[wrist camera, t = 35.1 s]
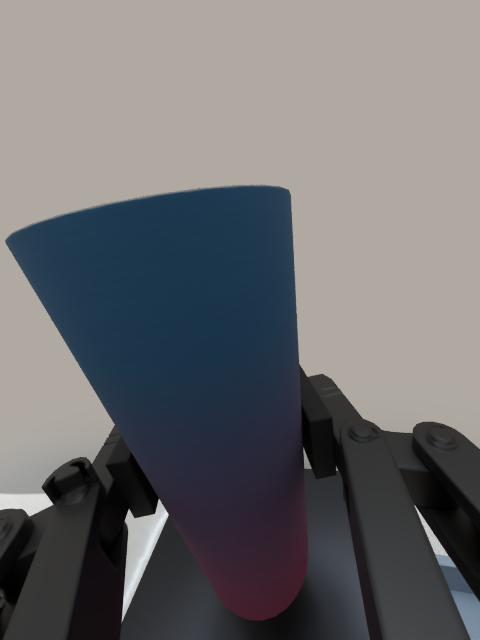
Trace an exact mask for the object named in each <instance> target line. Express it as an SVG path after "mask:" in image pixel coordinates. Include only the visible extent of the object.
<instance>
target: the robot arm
mask: <svg viewBox="0 0 480 640" xmlns="http://www.w3.org/2000/svg"><path fill="white" fill-rule="evenodd" d="M299 373H300V394H301V414H302V434H303V447H304V450H305V452H306V455H307V457H308V460H309V462H310V465H311V467H312V470H313V473H314V475H315V478H316V479H321V478H326V477H330V476H335V475H336V466H337V468H338V470H339V472H340V474H341V476H342V485H343V501H345V503H346V508H347V514H348V520H349V525H350V531H351V536H352V542H353V548H354V553H355V559H356V565H357V570H358V576H359V582H360V587H361V593H362V598H363V604H364V610H365V615H366V621H367V627H368V632H369V638H370V640H471V639H470V636H469V634H468V632H467V629H466V627H465V624H464V622H463V620H462V617H461V615H460V613H459V610H458V608H457V605H456V603H455V601H454V598H453V596H452V594H451V591H450V589H449V587H448V584H447V582H446V579H445V577H444V575H443V572H442V570H441V568H440V565H439V563H438V560H437V558H436V556H435V553H434V551H433V549H432V546H431V544H430V541H429V539H428V537H427V534H426V532H425V530H424V527H423V525H422V523H421V520H420V518H419V515H418V513H417V511H416V508H415V506H416V507H417V509H418V510H419V512H420V513H421V515H422V516H423V518H424V519H425V521H426V522H427V524H428V525H429V527H430V528H431V530H432V531H433V533H434V534H435V536H436V537H437V539H438V540H439V542H440V543H441V545H442V546H443V548H444V549H445V551H446V552H447V554H448V555H449V557H450V558H451V560H452V561H453V563H454V564H455V566H456V567H457V569H458V570H459V572H460V573H461V575H462V576H463V578H464V579H465V581H466V582H467V584H468V585H469V587H470V588H471V590H472V591H473V593H474V594H475V596H476V597H477V599H478V600H479V602H480V449H479V448H478V447H477V446H475V445H474V444H473V443H472V442H471V441H469V440H468V439H467V438H466V437H465V436H464V435H462V434H461V433H460V432H458V431H457V430H455V429H453V428H451V427H449V426H446V425H444V424H440V423H436V422H422V423H419V424H416V426H415V427H414V428H413V433H399V432H389V431H384V430H381V429H380V428H379V427H378V426H377V425H375V424H374V423H372V422H370V421H367V420H365V419H363V418H362V417H361V416H360V414H359V413H358V412H357V411H356V409H355V408H354V407H353V406H352V404H351V403H350V402H349V401H348V399H347V398H346V397H345V396H344V395H343V394H342V392H341V390H340V389H339V388H338V387H337V385H336V384H335V383H334V382H333V380H332V379H330V378H329V377H327V376H325V375H323V374H319V375H315V376H310V377H307V376H306V374H305V372H304V371H303V369H302V368H301V366H300V364H299ZM42 489H43V490H44V492H45V493H46V494H47V496H48V497H49V499H50V500H51V501H52V503H53V504H54V505H52V506H50V507H48V508H46V509H44V510H42V511H40V512H38V513H36V514H34V515H32V516H30V517H29V516H28V514H27V513H26V512H25V511H24V510H23V509H15V510H12V511H10V512H8V513H5V514H4V515H2V516H1V517H0V596H1V597H2V599H1V601H0V640H120V636H121V622H122V609H123V595H124V582H125V568H126V555H127V541H128V527H127V524H126V523H125V518H126V515H127V512H128V510H129V509H130V511H131V513H132V514H133V516H134V518H138V517H142V516H147V515H152V514H155V512H156V508H157V504H158V500H159V497H158V496H157V494H156V492H155V491H154V489H153V487H152V486H151V484H150V482H149V481H148V479H147V477H146V476H145V474H144V472H143V471H142V469H141V467H140V466H139V464H138V462H137V461H136V459H135V457H134V456H133V454H132V452H131V451H130V449H129V447H128V446H127V444H126V442H125V441H124V439H123V437H122V436H121V434H120V432H119V431H118V429H117V427H116V426H114V428H113V429H112V431H111V433H110V434H109V437H108V438H107V440H106V441H105V443H104V446H102V448H101V450H100V451H99V453H98V455H97V456H96V458H95V460H94V462H93V463H92V464H91V462H90V461H89V460H88V459H87V458H86V457H85V458H84V457H79V458H76V459H72V460H71V461H69V462H67V463H65V464H63V465H62V466H60V467H59V468H58V469H57V470H55V471H54V472H53V473H52V474H51V475H50V476H49V477H48V478H47V479H46V481H45V483H44V484H43V486H42ZM414 505H415V506H414Z"/></svg>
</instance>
